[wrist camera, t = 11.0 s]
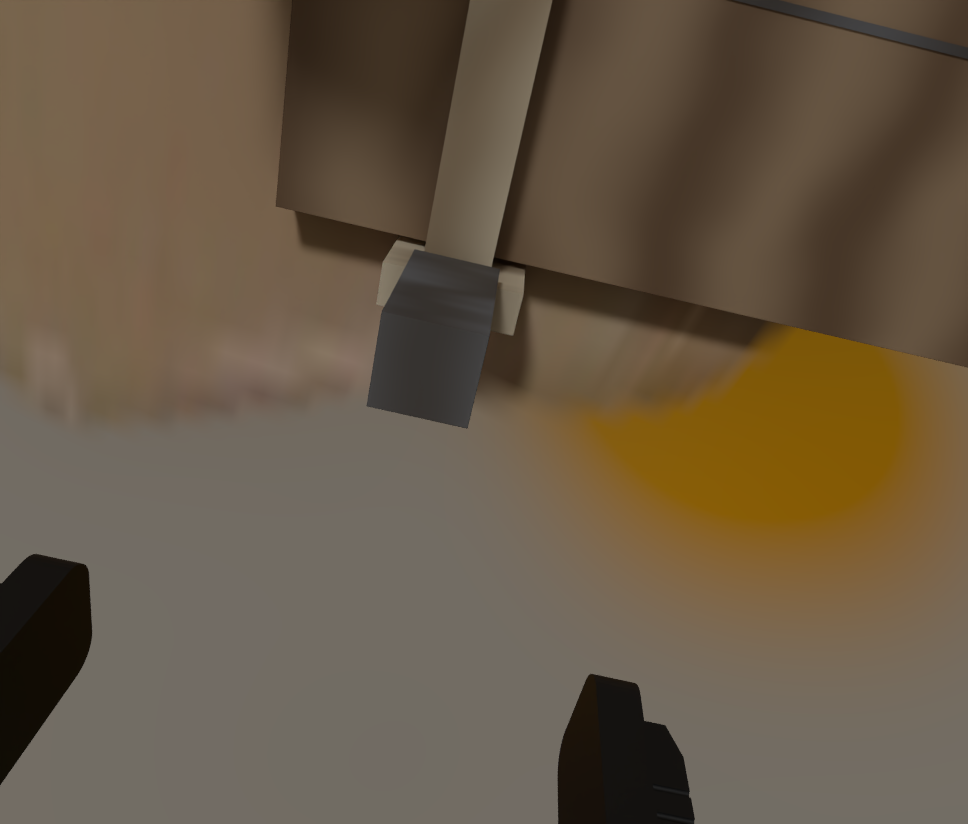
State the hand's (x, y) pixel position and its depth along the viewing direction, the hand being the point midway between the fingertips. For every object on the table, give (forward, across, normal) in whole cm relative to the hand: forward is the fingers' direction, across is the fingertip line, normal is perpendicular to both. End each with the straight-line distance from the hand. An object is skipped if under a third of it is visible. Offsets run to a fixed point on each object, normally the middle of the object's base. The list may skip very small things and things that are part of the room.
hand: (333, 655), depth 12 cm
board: (+21, -8, -8) cm, 24 cm away
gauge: (+20, 0, -5) cm, 21 cm away
